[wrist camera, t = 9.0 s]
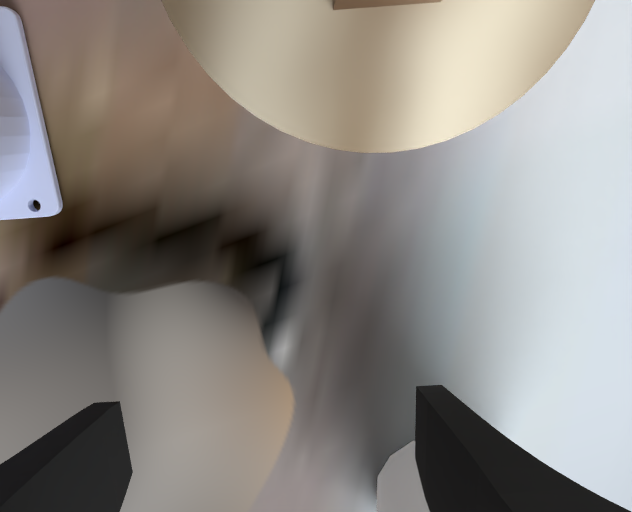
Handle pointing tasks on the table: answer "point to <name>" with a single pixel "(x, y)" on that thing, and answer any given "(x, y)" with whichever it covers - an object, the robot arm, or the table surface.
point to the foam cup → (401, 483)
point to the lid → (376, 62)
